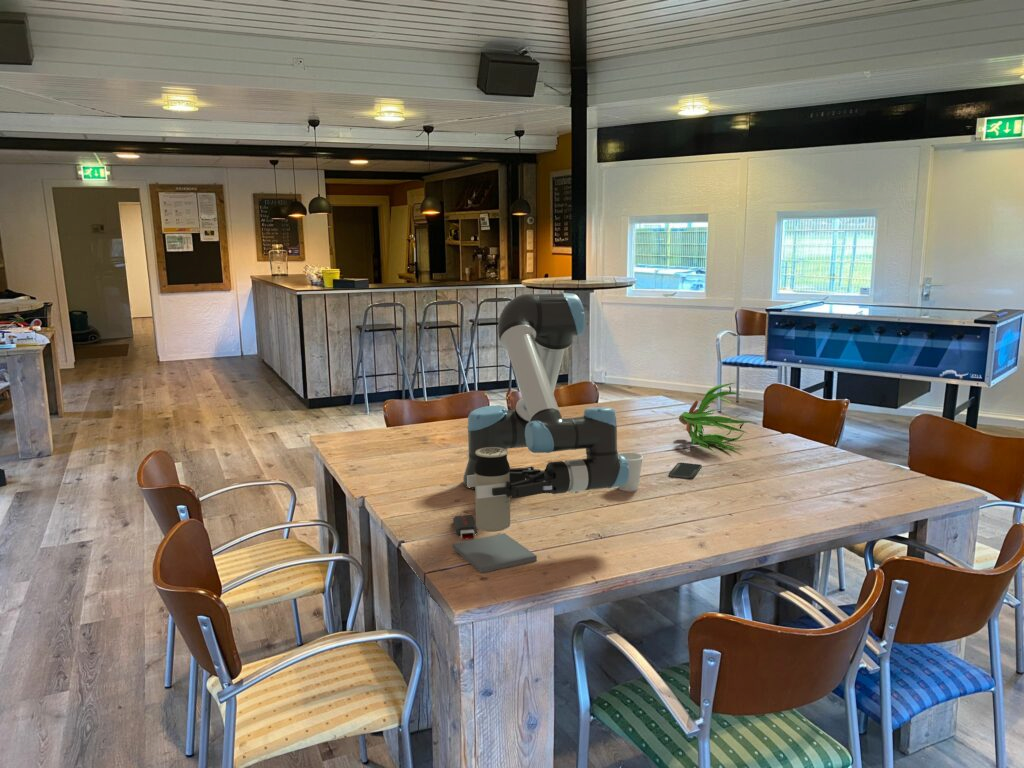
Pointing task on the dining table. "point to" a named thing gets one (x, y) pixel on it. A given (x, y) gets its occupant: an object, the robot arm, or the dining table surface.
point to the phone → (685, 470)
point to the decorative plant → (709, 421)
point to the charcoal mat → (494, 552)
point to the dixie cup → (632, 470)
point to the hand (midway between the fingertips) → (472, 486)
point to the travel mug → (490, 471)
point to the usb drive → (465, 526)
